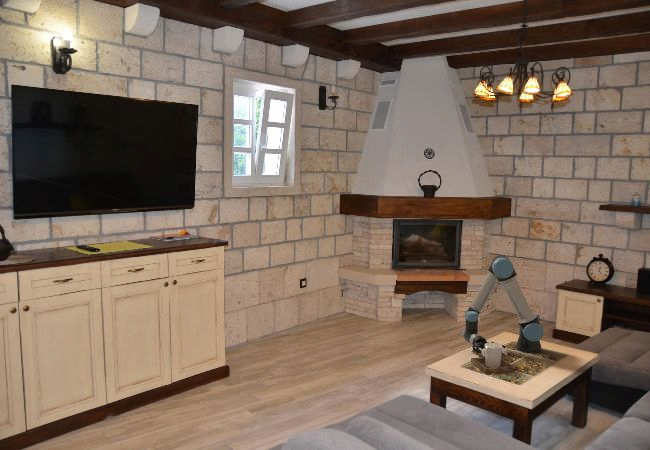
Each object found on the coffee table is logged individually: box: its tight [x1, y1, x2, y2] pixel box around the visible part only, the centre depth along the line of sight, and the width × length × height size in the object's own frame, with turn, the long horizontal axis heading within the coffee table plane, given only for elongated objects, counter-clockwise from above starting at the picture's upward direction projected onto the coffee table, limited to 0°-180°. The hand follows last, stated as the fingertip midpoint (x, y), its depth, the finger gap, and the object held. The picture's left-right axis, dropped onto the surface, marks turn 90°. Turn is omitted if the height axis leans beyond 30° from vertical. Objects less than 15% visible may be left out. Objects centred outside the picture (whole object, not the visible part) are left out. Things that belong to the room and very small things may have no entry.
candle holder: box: [484, 342, 503, 368], centre depth 302 cm, size 10×10×12 cm
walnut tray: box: [470, 356, 516, 375], centre depth 302 cm, size 18×18×3 cm
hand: (495, 353), depth 298 cm, fingers open, 13 cm apart
